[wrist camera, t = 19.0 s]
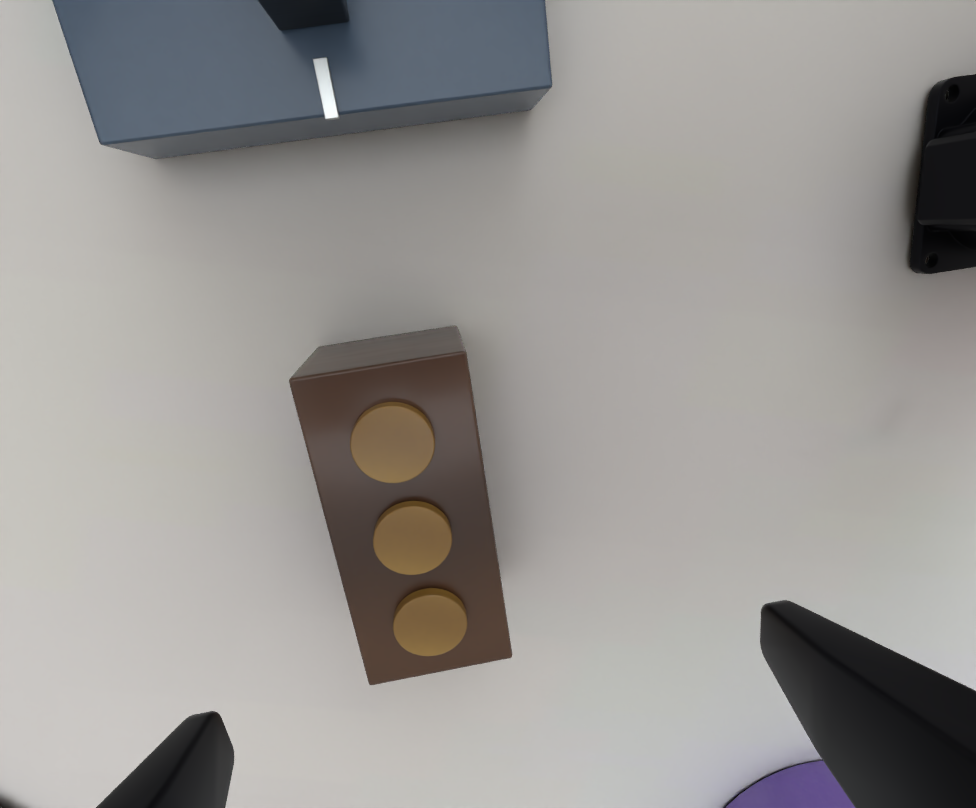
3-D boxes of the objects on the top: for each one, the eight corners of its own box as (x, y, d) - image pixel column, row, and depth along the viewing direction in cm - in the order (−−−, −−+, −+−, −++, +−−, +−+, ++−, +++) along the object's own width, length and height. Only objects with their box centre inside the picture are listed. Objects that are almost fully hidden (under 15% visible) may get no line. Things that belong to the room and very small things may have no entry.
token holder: (496, 580, 23) (514, 667, 18) (379, 602, 23) (367, 696, 18) (457, 324, 19) (467, 353, 15) (317, 346, 19) (283, 383, 15)
